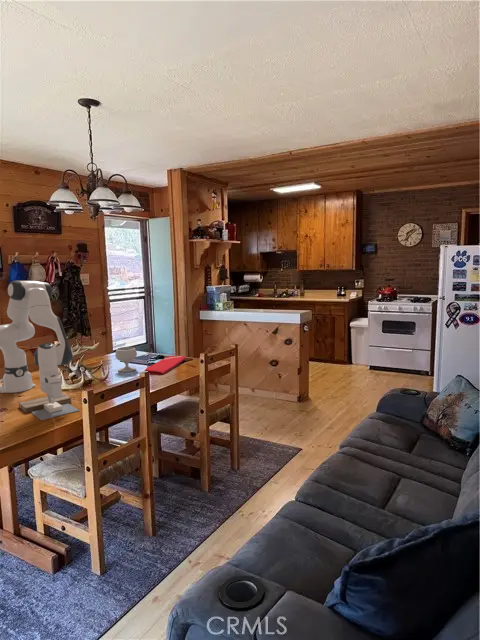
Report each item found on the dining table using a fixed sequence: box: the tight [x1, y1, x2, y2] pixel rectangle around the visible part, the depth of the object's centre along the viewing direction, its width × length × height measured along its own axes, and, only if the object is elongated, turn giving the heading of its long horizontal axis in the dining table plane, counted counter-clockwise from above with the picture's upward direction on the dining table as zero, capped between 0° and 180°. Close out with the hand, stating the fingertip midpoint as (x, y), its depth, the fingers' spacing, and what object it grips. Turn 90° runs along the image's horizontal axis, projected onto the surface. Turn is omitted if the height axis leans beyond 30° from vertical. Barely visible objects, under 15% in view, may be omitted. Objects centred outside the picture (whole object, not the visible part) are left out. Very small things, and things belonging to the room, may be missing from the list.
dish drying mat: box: [144, 355, 187, 376], centre depth 298 cm, size 16×41×4 cm, turn 165°
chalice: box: [115, 346, 138, 373], centre depth 290 cm, size 14×14×15 cm
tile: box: [44, 402, 63, 413], centre depth 216 cm, size 9×6×2 cm, turn 42°
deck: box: [18, 392, 72, 414], centre depth 223 cm, size 12×22×2 cm, turn 132°
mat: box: [30, 403, 80, 421], centre depth 213 cm, size 15×18×1 cm
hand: (51, 402), depth 216 cm, fingers closed
